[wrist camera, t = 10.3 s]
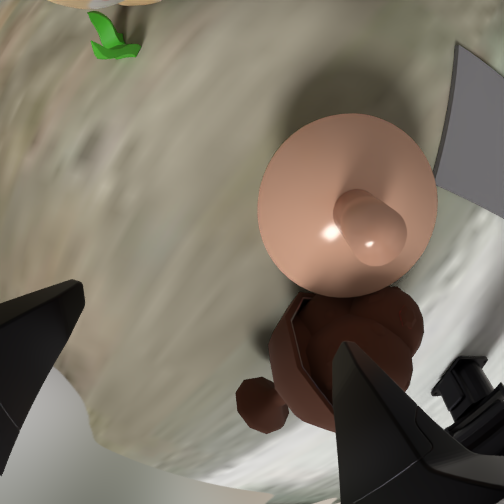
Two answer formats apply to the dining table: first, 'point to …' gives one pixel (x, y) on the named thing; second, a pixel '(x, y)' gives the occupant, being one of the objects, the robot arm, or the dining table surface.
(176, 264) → the dining table surface
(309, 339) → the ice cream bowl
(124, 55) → the kitten
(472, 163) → the mat
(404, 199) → the lid
